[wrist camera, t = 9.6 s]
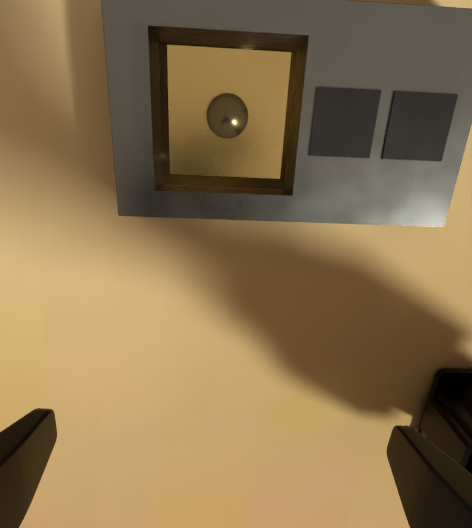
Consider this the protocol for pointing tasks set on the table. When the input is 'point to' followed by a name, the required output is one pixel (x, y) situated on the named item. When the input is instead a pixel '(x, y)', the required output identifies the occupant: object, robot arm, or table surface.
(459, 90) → the panel
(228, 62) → the wooden block
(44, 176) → the table surface
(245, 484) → the table surface
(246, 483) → the table surface
